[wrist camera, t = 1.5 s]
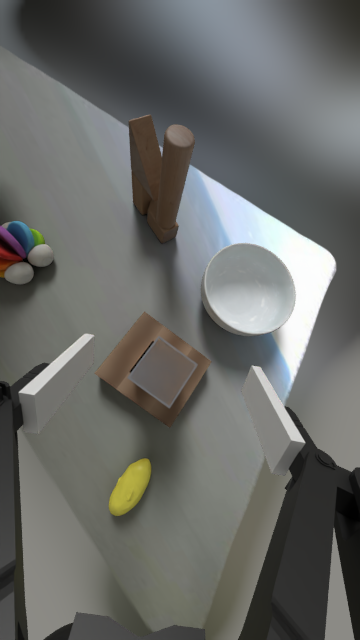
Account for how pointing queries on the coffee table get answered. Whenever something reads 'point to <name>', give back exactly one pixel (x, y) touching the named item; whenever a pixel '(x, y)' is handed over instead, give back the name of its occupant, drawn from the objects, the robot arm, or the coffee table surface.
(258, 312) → the cereal bowl
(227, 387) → the coffee table surface
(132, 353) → the header block
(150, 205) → the wooden v-shaped piece
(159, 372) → the plug
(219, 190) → the coffee table surface
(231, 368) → the coffee table surface
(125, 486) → the yellow oblong piece
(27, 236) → the rainbow petal toy
